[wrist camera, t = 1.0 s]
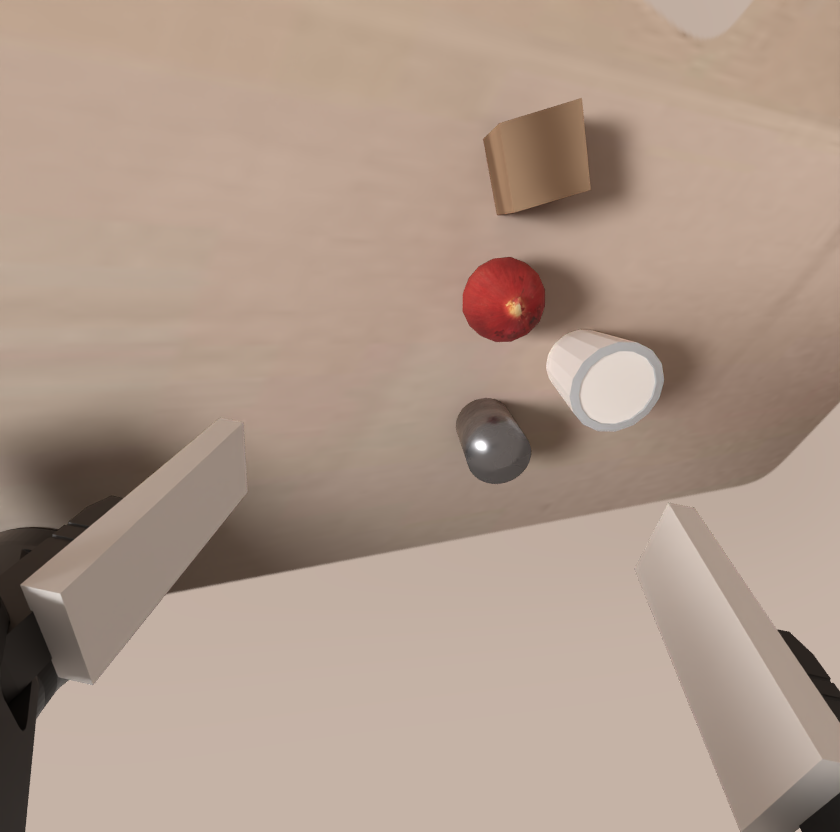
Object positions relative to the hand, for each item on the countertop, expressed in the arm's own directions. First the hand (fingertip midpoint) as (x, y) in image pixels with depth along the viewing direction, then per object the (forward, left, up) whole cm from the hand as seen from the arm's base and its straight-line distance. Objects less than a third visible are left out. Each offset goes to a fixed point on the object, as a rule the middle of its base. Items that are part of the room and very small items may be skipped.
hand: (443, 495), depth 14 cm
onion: (+7, +1, -24) cm, 25 cm away
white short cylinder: (+13, -7, -24) cm, 28 cm away
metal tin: (+4, -10, -24) cm, 26 cm away
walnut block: (+11, +9, -24) cm, 28 cm away
